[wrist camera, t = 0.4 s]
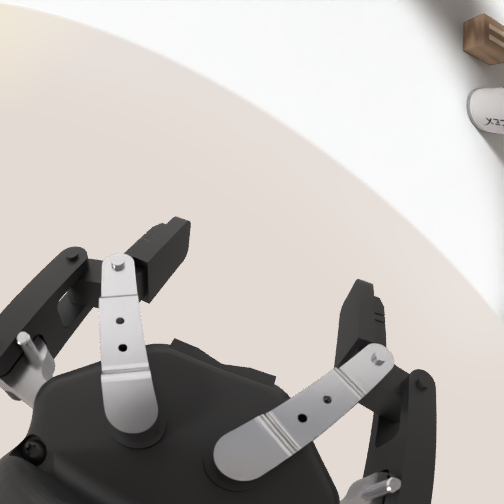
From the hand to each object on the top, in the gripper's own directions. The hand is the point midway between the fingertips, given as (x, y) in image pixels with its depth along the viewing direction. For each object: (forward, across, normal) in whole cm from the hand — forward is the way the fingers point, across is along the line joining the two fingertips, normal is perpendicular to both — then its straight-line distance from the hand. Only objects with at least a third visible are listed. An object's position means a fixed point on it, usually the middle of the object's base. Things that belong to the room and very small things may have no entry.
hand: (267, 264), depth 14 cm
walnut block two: (+33, -18, -24) cm, 44 cm away
